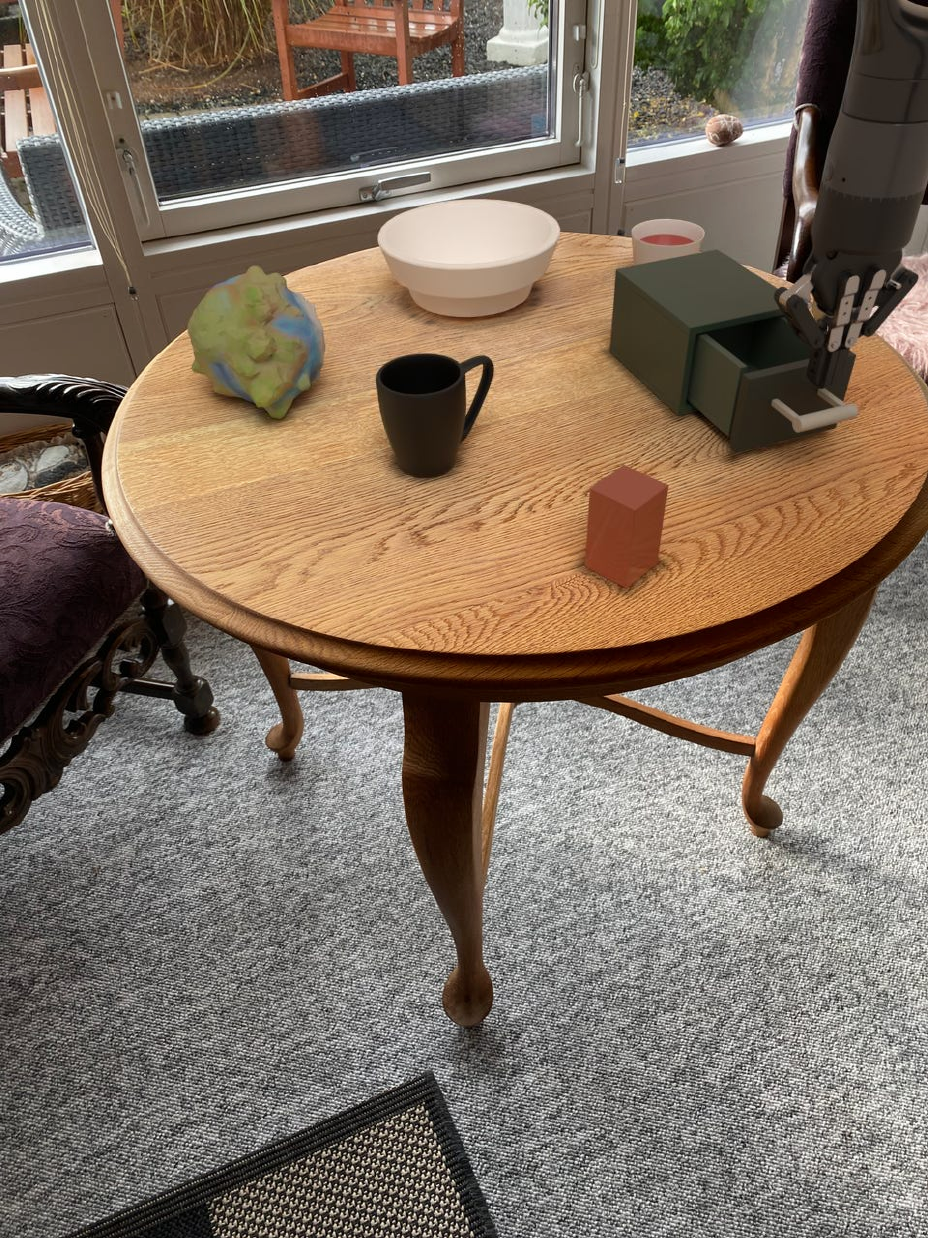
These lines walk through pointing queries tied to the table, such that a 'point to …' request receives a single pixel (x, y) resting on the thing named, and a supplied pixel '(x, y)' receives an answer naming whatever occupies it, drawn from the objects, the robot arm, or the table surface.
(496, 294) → the bowl
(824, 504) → the table surface
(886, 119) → the robot arm
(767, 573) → the table surface
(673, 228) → the candle
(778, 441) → the drawer
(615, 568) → the block
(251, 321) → the decorative rock
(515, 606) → the table surface
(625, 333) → the cabinet
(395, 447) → the mug
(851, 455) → the table surface
